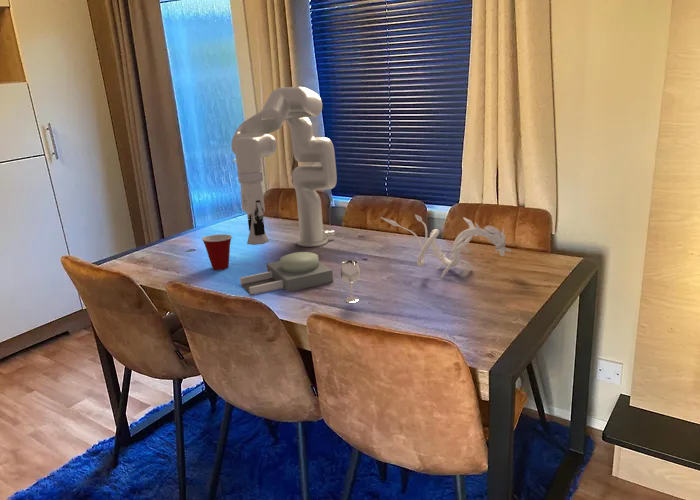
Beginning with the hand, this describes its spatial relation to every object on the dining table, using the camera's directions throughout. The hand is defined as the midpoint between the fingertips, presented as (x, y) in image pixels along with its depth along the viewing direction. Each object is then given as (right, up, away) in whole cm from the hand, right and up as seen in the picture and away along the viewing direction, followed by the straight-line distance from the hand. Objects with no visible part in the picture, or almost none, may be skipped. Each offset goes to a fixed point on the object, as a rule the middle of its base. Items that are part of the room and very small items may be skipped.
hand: (256, 232), depth 186 cm
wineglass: (+31, -21, -11) cm, 39 cm away
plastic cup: (-18, -12, +27) cm, 34 cm away
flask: (0, -3, +1) cm, 4 cm away
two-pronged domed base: (+8, -16, +9) cm, 20 cm away
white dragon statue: (+61, -14, +5) cm, 63 cm away
